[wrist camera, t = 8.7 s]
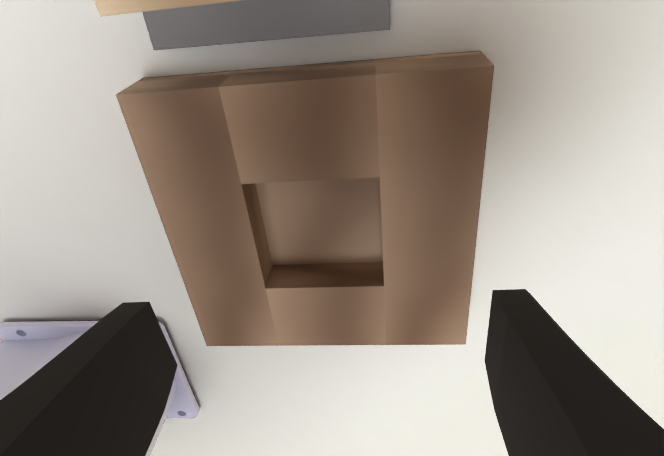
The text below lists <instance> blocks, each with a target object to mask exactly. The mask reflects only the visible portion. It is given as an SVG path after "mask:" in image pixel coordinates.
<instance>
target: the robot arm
mask: <svg viewBox="0 0 664 456" xmlns="http://www.w3.org/2000/svg"><path fill="white" fill-rule="evenodd" d="M0 338H1V340H2V342H1V343H0V456H150V454H151V451H152V449H153V447H154V444H155V442H156V440H157V437H158V435H159V433H160V430H161V428H162V426H163V423H164V421H165V419H166V418H195V417H197V415H198V413H199V407H198V404H197V402H196V399H195V397H194V395H193V392H192V390H191V388H190V385H189V383H188V381H187V378H186V376H185V373H184V371H183V369H182V366H181V364H180V362H179V359H178V357H177V355H176V352H175V350H174V348H173V345H172V343H171V340H170V338H169V336H168V333H167V331H166V329H165V326H164V325H163V324H162V323H161V322H159V321H158V320H157V318H156V316H155V314H154V311H153V309H152V307H151V305H150V302H131V303H122V304H121V305H119V306H118V307H117V308H115V309H114V310H113V311H111V312H110V313H109V314H107V315H106V316H105V317H104V318H102V319H101V320H100V321H47V322H2V323H0ZM485 364H486V370H487V375H488V380H489V385H490V390H491V395H492V400H493V405H494V410H495V413H496V416H497V419H498V423H499V426H500V429H501V432H502V435H503V439H504V442H505V445H506V448H507V451H508V455H509V456H664V429H663V428H662V427H661V426H660V425H658V424H657V423H656V422H655V421H654V420H653V419H652V418H651V417H650V416H649V415H648V414H646V413H645V412H644V411H643V410H642V409H641V408H640V407H639V406H638V405H637V404H636V403H635V402H634V401H632V400H631V399H630V398H629V397H628V396H627V395H626V394H625V393H624V392H623V391H622V390H621V389H620V388H619V387H618V386H617V385H616V384H615V383H614V382H613V381H612V380H611V379H610V378H609V377H608V376H607V375H606V374H605V373H604V372H603V371H602V370H601V369H600V368H599V367H598V366H597V365H596V364H595V363H594V362H593V361H592V360H591V359H590V358H589V357H588V356H587V355H586V354H585V353H584V352H583V351H582V350H581V349H580V348H579V347H578V346H577V345H576V344H575V342H574V341H573V340H572V339H571V338H570V337H569V336H568V335H567V334H566V333H565V332H564V331H563V330H562V328H561V327H560V326H559V325H558V324H557V323H556V322H555V321H554V320H553V319H552V318H551V316H550V315H549V314H548V313H547V312H546V311H545V310H544V309H543V308H542V306H541V305H540V304H539V303H538V302H537V301H536V300H535V299H534V297H533V296H532V295H531V294H530V293H529V292H528V291H527V290H525V289H517V290H493V293H492V301H491V310H490V319H489V328H488V337H487V345H486V354H485Z"/></svg>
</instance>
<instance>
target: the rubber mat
mask: <svg viewBox="0 0 664 456" xmlns="http://www.w3.org/2000/svg"><path fill="white" fill-rule="evenodd" d="M143 15H144V19H145V22H146V25H147V29H148V32H149V35H150V39H151V42H152V45H153V49H154V50H162V49H174V48H185V47H196V46H208V45H219V44H230V43H242V42H253V41H264V40H276V39H287V38H298V37H310V36H321V35H332V34H344V33H355V32H366V31H378V30H389V29H390V17H389V0H240V1H231V2H223V3H214V4H205V5H196V6H188V7H179V8H170V9H161V10H152V11H144V12H143Z"/></svg>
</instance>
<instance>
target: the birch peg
mask: <svg viewBox="0 0 664 456" xmlns="http://www.w3.org/2000/svg"><path fill="white" fill-rule="evenodd" d="M94 1H95V4H96V6H97V9H98V12H99V15H100V16H109V15H117V14H126V13H135V12H144V11H152V10H161V9H170V8H179V7H188V6H196V5H205V4H214V3H223V2H231V1H240V0H94Z"/></svg>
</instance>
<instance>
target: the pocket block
mask: <svg viewBox="0 0 664 456" xmlns="http://www.w3.org/2000/svg"><path fill="white" fill-rule="evenodd" d="M493 70H494V65H493V64H492V63H491V62H490V61H489V60H488V59H487V58H486V57H485V55H484V54H483V53H482V52H481V51H474V52H462V53H449V54H437V55H425V56H412V57H400V58H387V59H375V60H363V61H350V62H338V63H325V64H313V65H301V66H288V67H276V68H264V69H251V70H239V71H226V72H214V73H202V74H189V75H177V76H165V77H152V78H142V79H140V80H139V81H137V82H136V83H134V84H132V85H131V86H129V87H128V88H126V89H124V90H123V91H121V92H120V93H118V94H116V96H117V99H118V102H119V104H120V107H121V110H122V113H123V116H124V118H125V121H126V124H127V127H128V129H129V132H130V135H131V138H132V140H133V143H134V146H135V149H136V151H137V154H138V157H139V160H140V162H141V165H142V168H143V171H144V174H145V176H146V179H147V182H148V185H149V187H150V190H151V193H152V196H153V198H154V201H155V204H156V207H157V209H158V212H159V215H160V218H161V220H162V223H163V226H164V229H165V231H166V234H167V237H168V240H169V243H170V245H171V248H172V251H173V254H174V256H175V259H176V262H177V265H178V267H179V270H180V273H181V276H182V278H183V281H184V284H185V287H186V289H187V292H188V295H189V298H190V301H191V303H192V306H193V309H194V312H195V314H196V317H197V320H198V323H199V325H200V328H201V331H202V334H203V336H204V339H205V342H206V345H207V346H263V345H435V344H466V335H467V326H468V316H469V306H470V296H471V286H472V276H473V267H474V257H475V247H476V237H477V227H478V218H479V208H480V198H481V188H482V178H483V168H484V159H485V149H486V139H487V129H488V119H489V109H490V100H491V90H492V80H493Z"/></svg>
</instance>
